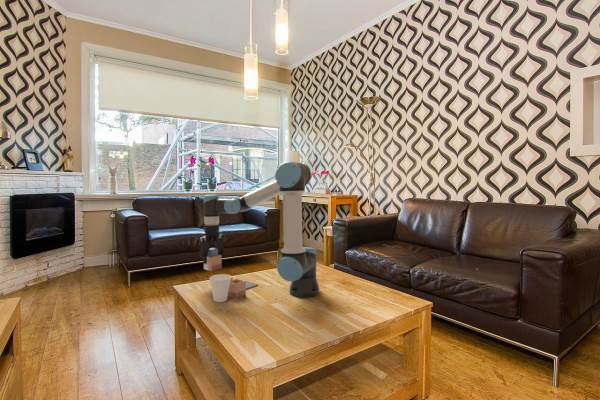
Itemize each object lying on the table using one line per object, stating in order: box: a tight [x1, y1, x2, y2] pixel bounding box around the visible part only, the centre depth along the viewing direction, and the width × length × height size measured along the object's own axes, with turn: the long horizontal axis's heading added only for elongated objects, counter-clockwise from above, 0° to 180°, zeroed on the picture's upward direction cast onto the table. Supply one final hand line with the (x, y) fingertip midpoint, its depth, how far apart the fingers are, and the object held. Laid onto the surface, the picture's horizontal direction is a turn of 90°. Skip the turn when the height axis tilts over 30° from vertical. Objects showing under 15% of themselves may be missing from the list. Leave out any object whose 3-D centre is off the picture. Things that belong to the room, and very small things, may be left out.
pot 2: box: [228, 278, 247, 299], centre depth 156 cm, size 6×6×7 cm
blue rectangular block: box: [208, 247, 218, 257], centre depth 166 cm, size 4×4×8 cm
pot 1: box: [203, 255, 223, 272], centre depth 166 cm, size 6×6×7 cm
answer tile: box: [245, 280, 259, 291], centre depth 170 cm, size 10×10×1 cm
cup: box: [209, 273, 232, 303], centre depth 149 cm, size 10×10×11 cm
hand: (212, 268), depth 166 cm, fingers closed on pot 1, 6 cm apart
